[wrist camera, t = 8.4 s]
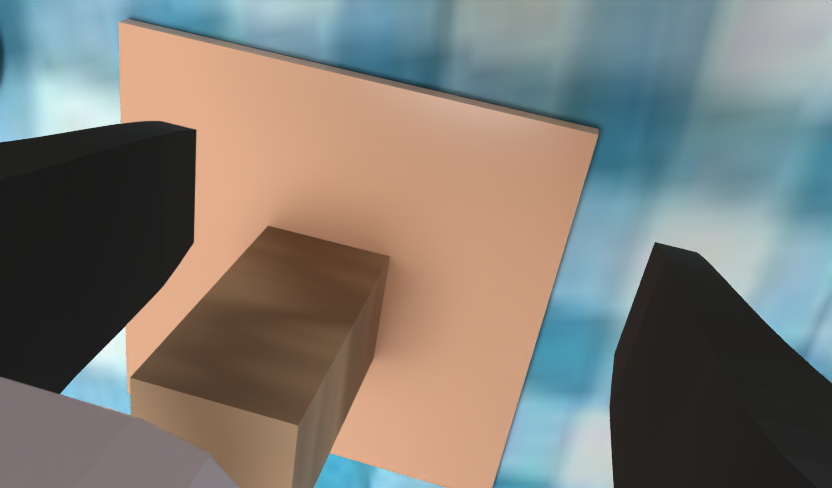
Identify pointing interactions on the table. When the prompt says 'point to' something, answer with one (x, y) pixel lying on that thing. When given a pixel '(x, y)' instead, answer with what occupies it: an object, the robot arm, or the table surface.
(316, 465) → the link block
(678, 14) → the table surface
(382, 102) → the terracotta tile
